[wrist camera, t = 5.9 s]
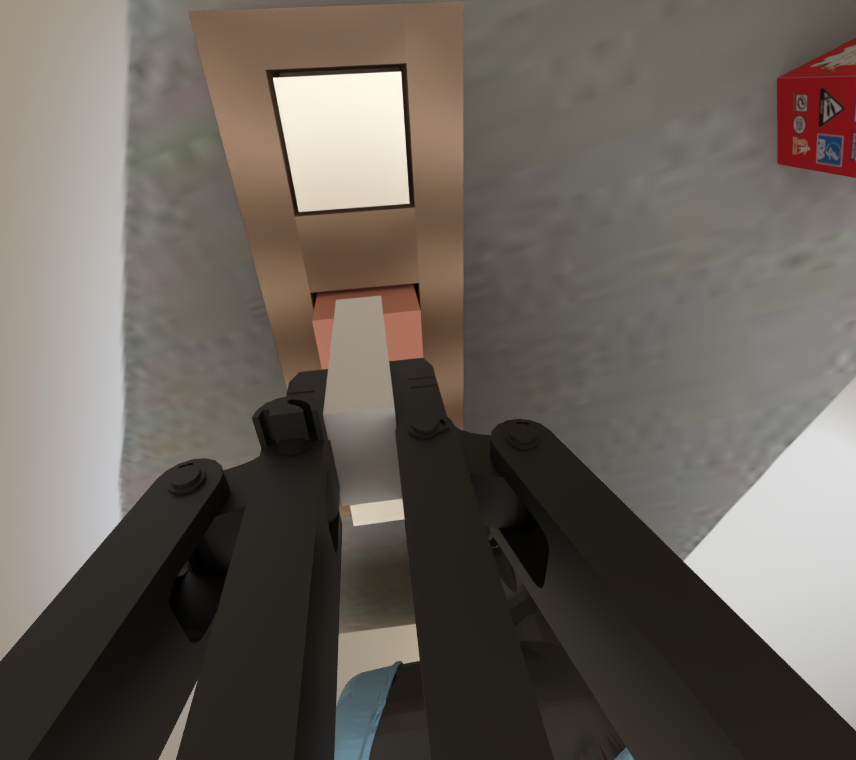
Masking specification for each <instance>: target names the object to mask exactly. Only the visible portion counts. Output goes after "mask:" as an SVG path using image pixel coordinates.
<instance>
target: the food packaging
mask: <svg viewBox="0 0 856 760" xmlns="http://www.w3.org/2000/svg"><path fill="white" fill-rule="evenodd" d="M777 88H778V164H781V165H787V166H792V167H798V168H804V169H809V170H815V171H821V172H826V173H832V174H838V175H843V176H849V177H855V178H856V38H855V39H853V40H851V41H849V42H847V43H846V44H844V45H842V46H840V47H838V48H836V49H834V50H832V51H830V52H828V53H826V54H824V55H822V56H820V57H818V58H816V59H814V60H812V61H810V62H809V63H807V64H805V65H803V66H801V67H799V68H797V69H795V70H793V71H791V72H789V73H787V74H785V75H783V76H781V77H779V78H777Z"/></svg>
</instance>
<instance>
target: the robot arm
mask: <svg viewBox="0 0 856 760" xmlns="http://www.w3.org/2000/svg"><path fill="white" fill-rule="evenodd" d="M252 420H253V423H254V426H255V429H256V432H257V436H258V439H259V442H260V445H261V448H262V449H261V453H260V456H259V457H257V458H256V459H254V460H252V461H250V462H247V463H245V464H242V465H239V466H236V467H233V468H230V469H227V470H224V471H223V469H222V466H221V465H220V464H219V463H218V462H216V461H215V460H210V459H205V458H204V459H193V460H189V461H186V462H183V463H180V464H178V465H176V466H174V467H172V468H171V469H169V470H167V471H166V472H164V473H163V474H162V475H161V476H160V477H159V478H158V479H157V480H156V481H155V482H154V483H153V484H152V485H151V487H150V488H149V489H148V490H147V491H146V492H145V494H144V495H143V496H142V497H141V498H140V499H139V501H138V502H137V503H136V504H135V505H134V506H133V508H132V509H131V510H130V511H129V512H128V513H127V515H126V516H125V517H124V518H123V519H122V520H121V522H120V523H119V524H118V525H117V526H116V527H115V529H114V530H113V531H112V532H111V533H110V534H109V536H108V537H107V538H106V539H105V540H104V541H103V542H102V544H101V545H100V546H99V547H98V548H97V549H96V551H95V552H94V553H93V554H92V555H91V556H90V558H89V559H88V560H87V561H86V562H85V564H84V565H83V566H82V567H81V568H80V569H79V570H78V572H77V573H76V574H75V575H74V576H73V577H72V579H71V580H70V581H69V582H68V583H67V584H66V586H65V587H64V588H63V589H62V591H61V592H60V593H59V594H58V595H57V596H56V597H55V599H54V600H53V601H52V602H51V603H50V604H49V605H48V607H47V608H46V609H45V610H44V611H43V612H42V614H41V615H40V616H39V617H38V618H37V619H36V621H35V622H34V623H33V624H32V625H31V626H30V628H29V629H28V630H27V631H26V632H25V633H24V635H23V636H22V637H21V638H20V639H19V641H18V642H17V643H16V644H15V645H14V646H13V647H12V649H11V650H10V651H9V652H8V653H7V654H6V656H5V657H4V658H3V659H2V660H1V661H0V760H158V759H159V757H160V755H161V753H162V751H163V749H164V747H165V745H166V743H167V741H168V739H169V737H170V735H171V733H172V731H173V729H174V726H175V725H176V722H177V720H178V718H179V716H180V714H181V712H182V710H183V708H184V706H185V704H186V702H187V700H188V698H189V696H190V694H191V692H192V690H193V688H194V686H195V684H196V682H197V680H198V682H197V685H196V689H195V692H194V696H193V700H192V703H191V707H190V711H189V714H188V718H187V722H186V725H185V729H184V732H183V736H182V740H181V743H180V747H179V750H178V754H177V758H176V760H856V731H855V730H854V729H853V728H852V727H851V726H850V725H849V724H848V723H847V722H846V721H845V720H844V719H843V718H842V717H841V716H840V715H839V714H838V713H837V712H836V711H835V710H834V709H833V708H832V707H831V706H830V705H829V704H828V703H827V702H826V701H825V700H824V699H823V698H822V697H821V696H820V695H819V694H818V693H817V692H816V691H815V690H814V689H813V688H812V687H811V686H809V685H808V684H807V683H806V682H805V681H804V680H803V679H802V678H801V677H800V676H799V675H798V674H797V673H796V672H795V671H794V670H793V669H792V668H791V667H790V666H789V665H788V664H787V663H786V662H785V661H784V660H783V659H782V658H781V657H780V656H779V655H778V654H777V653H776V652H775V651H774V650H773V649H772V648H771V647H770V646H769V645H768V644H767V643H766V642H765V641H764V640H763V639H762V638H761V637H760V636H759V635H758V634H757V633H755V632H754V631H753V629H751V628H750V627H749V626H748V625H747V624H746V623H745V622H744V621H743V620H742V619H741V618H740V617H739V616H738V615H737V614H736V613H735V612H734V611H733V610H732V609H731V608H730V607H729V606H728V605H727V604H726V603H725V602H724V601H723V600H722V599H721V598H720V597H719V596H718V595H717V594H716V593H715V592H714V591H713V590H712V589H711V588H710V587H709V586H708V585H707V584H706V583H705V582H704V581H703V580H702V579H700V577H699V576H698V575H697V574H695V573H694V572H693V571H692V570H691V569H690V568H689V567H688V566H687V565H686V564H685V563H684V562H683V561H682V560H681V559H680V558H679V557H678V556H677V555H676V554H675V553H674V552H673V551H672V550H671V549H670V548H669V547H668V546H667V545H666V544H665V543H664V542H663V541H662V540H661V539H660V538H659V537H658V536H657V535H656V534H655V533H654V532H653V531H652V530H651V529H650V528H649V527H648V526H647V525H646V524H645V523H644V522H643V521H642V520H640V519H639V518H638V517H637V516H636V515H635V514H634V513H633V512H632V511H631V510H630V509H629V508H628V507H627V506H626V505H625V504H624V503H623V502H622V501H621V500H620V499H619V498H618V497H617V496H616V495H615V494H614V493H613V492H612V491H611V490H610V489H609V488H608V487H607V486H606V485H605V484H604V483H603V482H602V481H601V480H600V479H599V478H598V477H597V476H596V475H595V474H594V473H593V472H592V471H591V470H590V469H589V468H588V467H587V466H585V465H584V464H583V463H582V462H581V461H580V460H579V459H578V458H577V457H576V456H575V455H574V454H573V453H572V452H571V451H570V450H569V449H568V448H567V447H566V446H565V445H564V444H563V443H562V442H561V441H560V440H559V439H558V438H557V437H556V436H555V435H554V434H553V433H552V432H551V431H550V430H549V429H547V428H546V427H544V426H543V425H541V424H539V423H536V422H533V421H531V420H522V419H515V420H508V421H505V422H503V423H501V424H498V425H497V426H496V427H495V428H494V429H493V431H492V434H491V435H481V434H474V433H469V432H466V431H463V430H460V429H459V428H457V427H455V425H454V423H453V422H452V420H451V419H450V418H448V417H447V414H446V411H445V407H444V404H443V400H442V397H441V393H440V390H439V386H438V383H437V379H436V376H435V372H434V369H433V366H432V365H431V364H430V363H429V362H428V361H426V360H425V359H424V358H415V359H405V360H396V361H389V358H388V350H387V341H386V333H385V325H384V316H383V308H382V300H381V296H372V297H362V298H351V299H340V300H336V304H335V313H334V322H333V331H332V340H331V348H330V357H329V366H328V369H322V370H313V371H303V372H299V373H298V374H297V375H296V376H295V377H294V378H293V379H292V380H291V381H290V382H289V385H288V389H287V395H286V397H283V398H278V399H275V400H273V401H271V402H268V403H266V404H264V405H263V406H262V407H260V408H259V409H258V410H257V411H256V412H255V414H254V415H253V417H252ZM339 499H341V503H342V506H350V505H357V504H365V503H373V502H380V501H388V500H395V499H402V500H403V509H404V519H405V528H406V537H407V546H408V555H409V565H410V574H411V583H412V592H413V601H414V611H415V620H416V629H417V638H418V647H419V656H420V661H417V662H412V663H406V664H403V663H402V662H401V661H399V662H395V663H394V665H392V666H388V667H384V668H380V669H375V670H371V671H367V672H363V673H360V674H358V675H356V676H355V677H353V678H352V679H351V680H350V681H349V682H348V683H347V684H346V686H345V687H344V689H343V691H342V693H341V695H340V697H339V700H338V703H337V706H336V692H337V665H338V635H339V606H340V576H341V547H342V521H341V516H340V512H339Z"/></svg>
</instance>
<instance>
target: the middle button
mask: <svg viewBox="0 0 856 760" xmlns="http://www.w3.org/2000/svg"><path fill="white" fill-rule="evenodd" d="M372 296H381V300H382V308H383V316H384V325H385V333H386V341H387V350H388V358H389V361H396V360H405V359H415V358H423V343H422V326H421V310H420V307H419V303H418V300H417V296H416V293H415V289H414V286H413V283H411V284H400V285H389V286H378V287H367V288H356V289H346V290H335V291H324V292H317V297H316V303H315V308H314V313H313V318H312V323H313V328H314V333H315V338H316V343H317V348H318V353H319V357H320V362H321V367H322V369H328V366H329V357H330V348H331V340H332V331H333V322H334V313H335V304H336V300H340V299H351V298H362V297H372Z"/></svg>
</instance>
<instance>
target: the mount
mask: <svg viewBox="0 0 856 760" xmlns="http://www.w3.org/2000/svg"><path fill="white" fill-rule="evenodd" d="M188 12H189V16H190V20H191V24H192V27H193V31H194V35H195V39H196V43H197V47H198V50H199V54H200V58H201V62H202V66H203V69H204V73H205V77H206V81H207V85H208V89H209V92H210V96H211V100H212V104H213V108H214V112H215V115H216V119H217V123H218V127H219V131H220V135H221V138H222V142H223V146H224V150H225V154H226V157H227V161H228V165H229V169H230V173H231V177H232V180H233V184H234V188H235V192H236V196H237V200H238V203H239V207H240V211H241V215H242V219H243V222H244V226H245V230H246V234H247V238H248V242H249V245H250V249H251V253H252V257H253V261H254V265H255V268H256V272H257V276H258V280H259V284H260V288H261V291H262V295H263V299H264V303H265V307H266V310H267V314H268V318H269V322H270V326H271V330H272V333H273V337H274V341H275V345H276V349H277V353H278V356H279V360H280V364H281V368H282V372H283V376H284V379H285V383H286V387H287V389H288V385H289V382H290V381H291V380H292V379H293V378H294V377H295V376H296V375H297V374H298V373H299V372H303V371H313V370H322V367H321V362H320V357H319V353H318V348H317V343H316V338H315V333H314V328H313V323H312V318H313V313H314V308H315V303H316V297H317V292H324V291H335V290H346V289H356V288H367V287H378V286H389V285H400V284H411V283H413V286H414V289H415V293H416V296H417V300H418V303H419V307H420V310H421V326H422V343H423V358H424V359H425V360H426V361H428V362H429V363H430V364H431V365H432V366H433V369H434V372H435V376H436V379H437V383H438V386H439V390H440V393H441V397H442V400H443V404H444V407H445V411H446V414H447V417H448V418H450V419H451V420H452V422H453V423H454V425H455V427H457V428H459V429H460V430H463V431H464V404H463V1H459V2H432V3H404V4H376V5H348V6H321V7H293V8H265V9H237V10H210V11H188ZM380 72H401V77H402V93H403V109H404V124H405V140H406V156H407V172H408V188H409V203H410V204H398V205H385V206H372V207H359V208H345V209H332V210H319V211H306V212H299V211H298V206H297V200H296V195H295V190H294V185H293V180H292V175H291V169H290V164H289V159H288V154H287V149H286V144H285V138H284V133H283V128H282V123H281V118H280V113H279V107H278V102H277V97H276V92H275V87H274V82H273V78H279V77H299V76H320V75H340V74H360V73H380ZM339 512H340V516H349V515H352V514H351V509H350V506H342V503H341V499H339Z"/></svg>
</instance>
